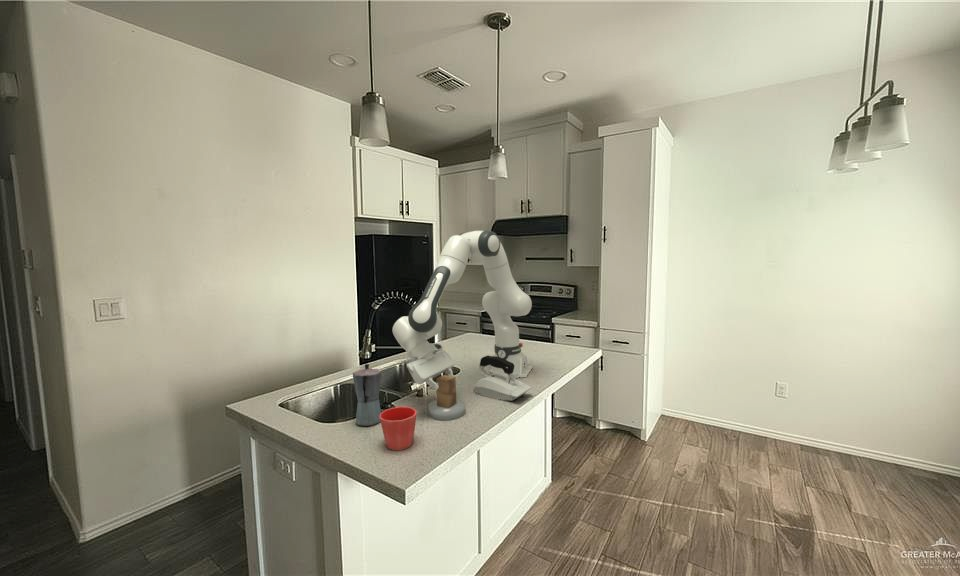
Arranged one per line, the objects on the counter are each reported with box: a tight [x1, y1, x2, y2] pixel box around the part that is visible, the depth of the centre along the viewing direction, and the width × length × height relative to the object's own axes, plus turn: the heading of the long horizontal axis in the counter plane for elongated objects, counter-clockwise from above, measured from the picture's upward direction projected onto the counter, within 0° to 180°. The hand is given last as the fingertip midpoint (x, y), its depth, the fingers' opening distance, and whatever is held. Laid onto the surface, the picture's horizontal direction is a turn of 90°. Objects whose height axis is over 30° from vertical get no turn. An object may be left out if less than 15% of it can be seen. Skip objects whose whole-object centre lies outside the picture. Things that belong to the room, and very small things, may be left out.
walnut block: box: [435, 374, 457, 409], centre depth 136 cm, size 5×5×10 cm
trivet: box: [428, 397, 466, 422], centre depth 137 cm, size 13×13×3 cm
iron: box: [473, 355, 533, 402], centre depth 153 cm, size 11×24×15 cm, turn 53°
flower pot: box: [380, 406, 418, 451], centre depth 115 cm, size 11×11×10 cm
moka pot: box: [352, 363, 382, 427], centre depth 131 cm, size 10×15×20 cm, turn 14°
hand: (446, 384), depth 136 cm, fingers open, 8 cm apart
